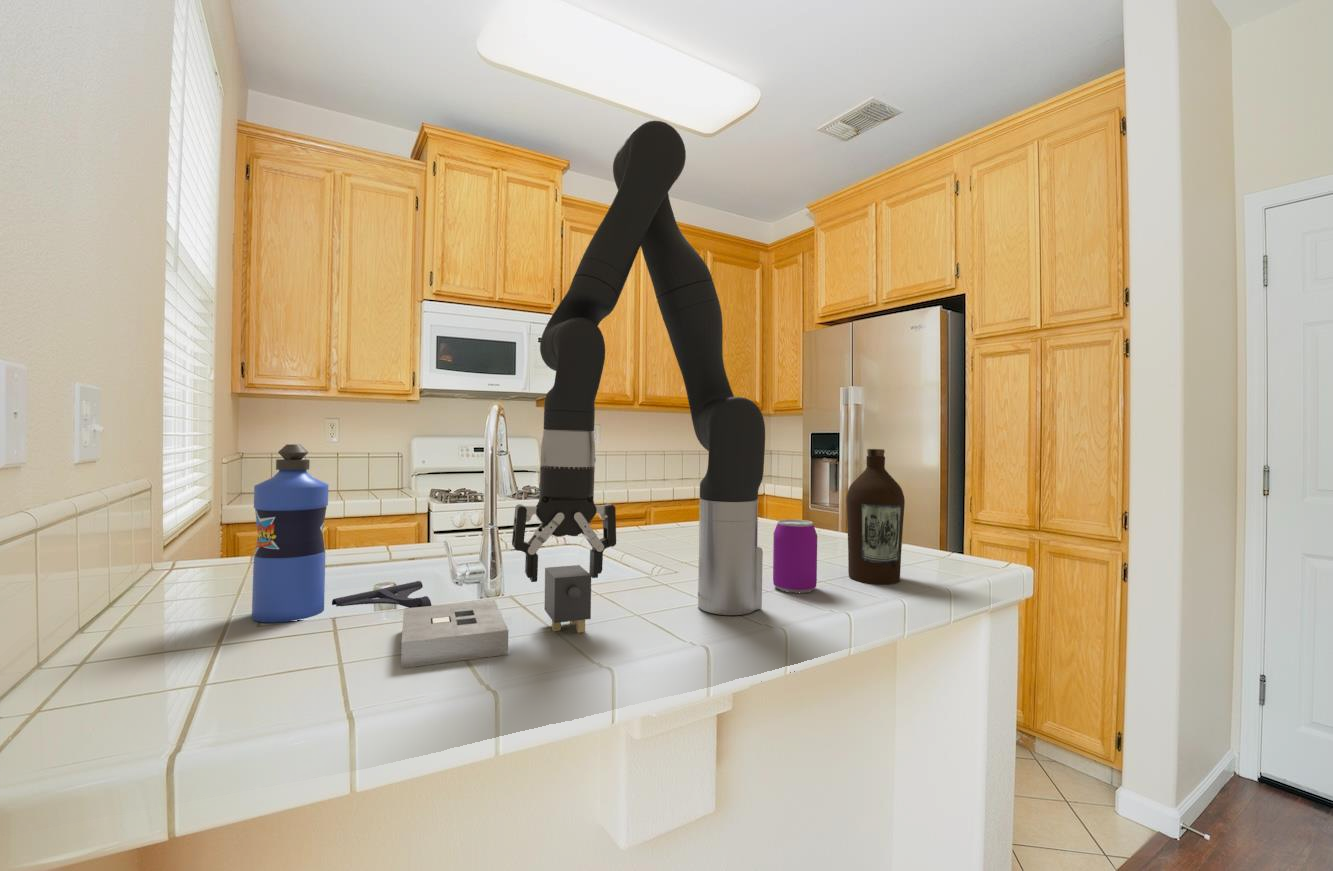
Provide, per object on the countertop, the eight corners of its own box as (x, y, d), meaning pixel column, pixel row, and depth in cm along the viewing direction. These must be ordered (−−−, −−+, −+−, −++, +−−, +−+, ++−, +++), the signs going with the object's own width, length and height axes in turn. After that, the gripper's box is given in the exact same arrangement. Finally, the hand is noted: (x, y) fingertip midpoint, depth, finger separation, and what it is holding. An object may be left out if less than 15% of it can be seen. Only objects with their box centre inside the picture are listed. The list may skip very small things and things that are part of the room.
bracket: (381, 628, 84) (381, 609, 84) (331, 608, 93) (332, 590, 93) (468, 606, 95) (469, 589, 95) (417, 590, 104) (417, 574, 104)
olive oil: (839, 571, 120) (841, 448, 120) (892, 572, 120) (894, 448, 119) (853, 584, 109) (855, 449, 109) (911, 586, 109) (914, 450, 109)
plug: (578, 619, 87) (579, 565, 87) (593, 636, 80) (594, 577, 80) (544, 623, 85) (545, 567, 85) (556, 641, 78) (557, 580, 78)
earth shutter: (448, 622, 78) (448, 616, 78) (449, 627, 76) (449, 621, 76) (432, 624, 77) (432, 618, 77) (432, 629, 75) (432, 623, 75)
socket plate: (494, 620, 86) (494, 599, 86) (508, 654, 73) (508, 630, 73) (403, 630, 81) (403, 608, 81) (401, 668, 68) (401, 642, 68)
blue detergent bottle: (268, 626, 81) (273, 444, 82) (238, 615, 86) (243, 443, 87) (337, 611, 89) (341, 445, 89) (306, 601, 94) (310, 444, 95)
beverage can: (796, 596, 101) (797, 526, 101) (763, 587, 107) (764, 520, 107) (825, 590, 105) (826, 522, 105) (792, 581, 111) (793, 517, 111)
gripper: (608, 462, 89) (605, 570, 89) (512, 461, 84) (508, 575, 84) (624, 465, 82) (620, 582, 82) (520, 464, 77) (515, 589, 77)
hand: (563, 578), depth 83 cm, fingers open, 8 cm apart
